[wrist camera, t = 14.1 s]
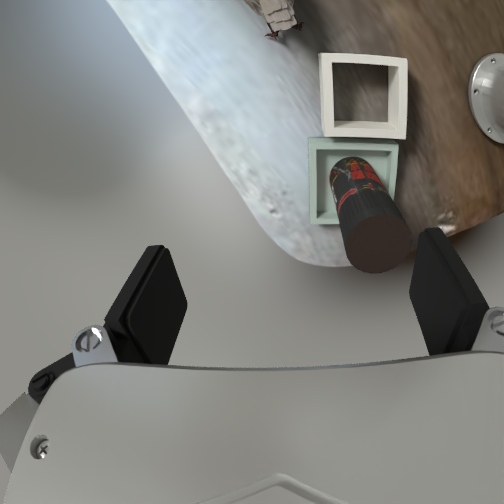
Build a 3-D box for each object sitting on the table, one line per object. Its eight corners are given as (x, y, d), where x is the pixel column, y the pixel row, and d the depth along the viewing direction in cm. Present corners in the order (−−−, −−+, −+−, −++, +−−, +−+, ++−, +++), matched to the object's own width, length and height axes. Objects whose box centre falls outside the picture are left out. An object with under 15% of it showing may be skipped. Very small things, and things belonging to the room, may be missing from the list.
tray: (392, 139, 34) (398, 144, 32) (386, 214, 40) (390, 224, 38) (307, 137, 36) (308, 142, 34) (309, 214, 42) (310, 224, 40)
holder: (395, 58, 28) (407, 58, 25) (395, 130, 34) (405, 139, 30) (318, 53, 30) (321, 52, 27) (321, 128, 35) (324, 136, 32)
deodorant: (381, 190, 38) (417, 259, 26) (339, 206, 40) (357, 282, 28) (365, 149, 35) (402, 204, 23) (321, 167, 37) (335, 230, 25)
